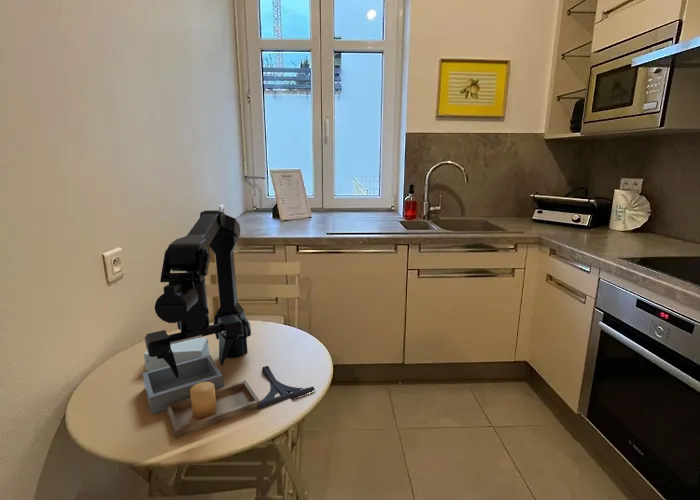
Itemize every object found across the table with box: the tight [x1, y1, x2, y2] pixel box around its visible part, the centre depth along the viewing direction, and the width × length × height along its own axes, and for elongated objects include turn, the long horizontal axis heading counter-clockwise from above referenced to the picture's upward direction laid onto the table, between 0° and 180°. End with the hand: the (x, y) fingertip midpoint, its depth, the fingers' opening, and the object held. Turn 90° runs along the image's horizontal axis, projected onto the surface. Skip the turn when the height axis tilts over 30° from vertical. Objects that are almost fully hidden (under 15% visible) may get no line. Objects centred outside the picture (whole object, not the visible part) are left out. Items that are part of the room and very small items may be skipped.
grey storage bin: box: [142, 354, 225, 415], centre depth 98 cm, size 16×12×5 cm
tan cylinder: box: [190, 382, 217, 420], centre depth 89 cm, size 5×5×6 cm
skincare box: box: [143, 336, 210, 372], centre depth 110 cm, size 8×6×15 cm
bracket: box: [257, 365, 316, 410], centre depth 100 cm, size 14×15×3 cm
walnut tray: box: [166, 380, 261, 439], centre depth 90 cm, size 18×10×2 cm, turn 123°
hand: (199, 370), depth 87 cm, fingers open, 9 cm apart
